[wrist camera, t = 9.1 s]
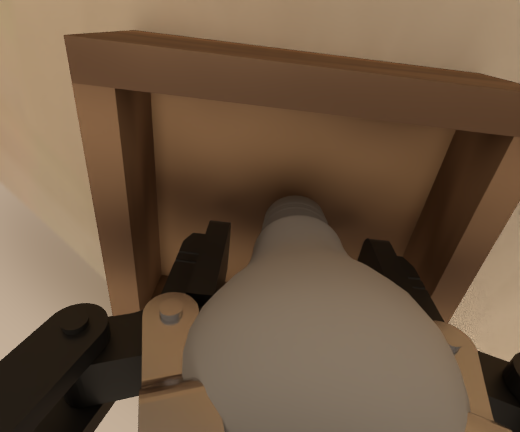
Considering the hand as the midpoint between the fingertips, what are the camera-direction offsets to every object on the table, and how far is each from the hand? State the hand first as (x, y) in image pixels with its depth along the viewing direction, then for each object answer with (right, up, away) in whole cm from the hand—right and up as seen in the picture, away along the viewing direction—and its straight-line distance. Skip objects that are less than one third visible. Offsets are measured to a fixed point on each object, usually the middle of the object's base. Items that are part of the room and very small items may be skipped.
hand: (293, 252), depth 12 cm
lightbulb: (0, +2, +3) cm, 3 cm away
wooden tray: (0, +3, +5) cm, 5 cm away
